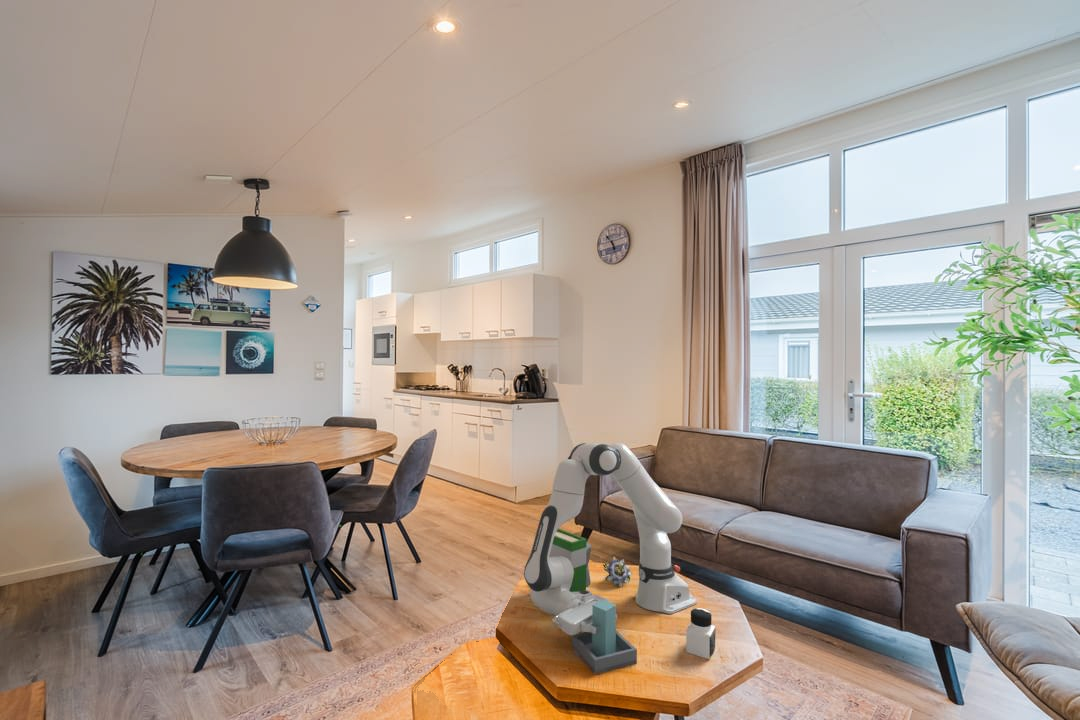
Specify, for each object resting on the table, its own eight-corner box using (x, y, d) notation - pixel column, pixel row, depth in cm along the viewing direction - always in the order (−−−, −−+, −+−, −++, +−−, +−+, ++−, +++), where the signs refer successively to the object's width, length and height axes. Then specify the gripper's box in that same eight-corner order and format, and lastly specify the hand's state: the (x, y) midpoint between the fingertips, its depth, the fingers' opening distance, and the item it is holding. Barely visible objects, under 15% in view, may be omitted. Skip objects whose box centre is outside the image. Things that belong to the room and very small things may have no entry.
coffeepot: (596, 588, 192) (597, 542, 192) (574, 591, 189) (574, 544, 190) (582, 573, 207) (583, 530, 207) (561, 575, 204) (562, 531, 204)
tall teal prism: (602, 645, 151) (602, 599, 151) (615, 652, 147) (616, 605, 147) (592, 652, 147) (592, 605, 147) (605, 659, 144) (605, 610, 144)
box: (611, 638, 156) (611, 626, 156) (636, 663, 143) (636, 649, 144) (572, 648, 151) (572, 635, 151) (595, 674, 138) (595, 660, 138)
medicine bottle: (710, 660, 145) (710, 619, 146) (685, 652, 149) (686, 612, 149) (715, 648, 151) (715, 609, 152) (692, 641, 155) (692, 603, 155)
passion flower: (619, 600, 194) (608, 580, 189) (604, 584, 204) (593, 565, 199) (640, 581, 197) (629, 561, 193) (624, 566, 207) (614, 547, 202)
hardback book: (538, 594, 187) (539, 530, 187) (553, 588, 192) (553, 526, 192) (571, 611, 174) (572, 543, 174) (585, 605, 178) (586, 538, 179)
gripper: (549, 609, 149) (584, 626, 139) (591, 588, 164) (625, 602, 154) (548, 630, 149) (584, 649, 139) (591, 607, 163) (625, 622, 154)
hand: (606, 624), depth 147 cm, fingers open, 8 cm apart
